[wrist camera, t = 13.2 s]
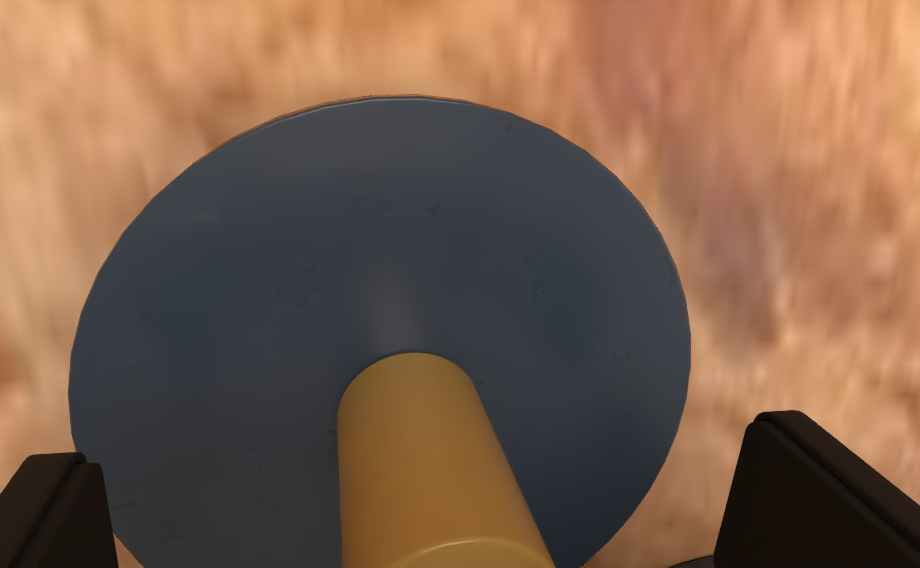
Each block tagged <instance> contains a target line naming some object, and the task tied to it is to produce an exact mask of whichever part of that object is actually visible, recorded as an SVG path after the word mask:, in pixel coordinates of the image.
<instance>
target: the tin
mask: <svg viewBox="0 0 920 568" xmlns="http://www.w3.org/2000/svg"><path fill="white" fill-rule="evenodd" d="M673 568H714V562H713V556H710V557H705V558H702V559H698V560H694V561H691V562H687V563H684V564H680V565H678V566H675V567H673Z"/></svg>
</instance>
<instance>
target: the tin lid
mask: <svg viewBox="0 0 920 568" xmlns="http://www.w3.org/2000/svg"><path fill="white" fill-rule="evenodd" d="M690 368H691V333H690V325H689V318H688V311H687V304H686V299H685V295H684V292H683V288H682V285H681V281H680V278H679V275H678V271H677V268H676V265H675V263H674V261H673V259H672V256H671V254H670V252H669V250H668V248H667V246H666V243H665V241H664V239H663V237H662V235H661V233H660V232H659V230H658V229H657V227H656V226H655V224H654V222H653V221H652V219H651V218H650V216H649V215H648V213H647V212H646V210H645V209H644V207H643V206H642V204H641V203H640V202H639V201H638V200H637V199H636V198H635V196H634V195H633V194H632V193H631V192H630V191H629V190H628V189H627V187H626V186H625V185H624V184H623V183H622V182H621V181H620V180H619V179H618V177H617V176H616V175H614V174H613V173H612V172H611V171H610V170H608V169H607V168H606V167H605V166H603V165H602V164H601V163H600V162H599V161H597V160H596V159H595V158H594V157H593V156H591V155H590V154H589V153H588V152H586V151H585V150H583V149H582V148H580V147H579V146H577V145H575V144H574V143H572V142H570V141H569V140H567V139H565V138H564V137H562V136H560V135H559V134H557V133H555V132H554V131H552V130H550V129H548V128H546V127H543V126H541V125H538V124H536V123H534V122H531V121H529V120H526V119H524V118H522V117H519V116H517V115H515V114H512V113H510V112H507V111H504V110H500V109H496V108H493V107H489V106H485V105H481V104H477V103H473V102H470V101H466V100H462V99H453V98H444V97H436V96H427V95H419V94H408V95H369V96H363V97H357V98H350V99H344V100H338V101H331V102H325V103H321V104H318V105H314V106H311V107H308V108H305V109H301V110H298V111H295V112H291V113H288V114H285V115H281V116H278V117H276V118H274V119H271V120H269V121H267V122H265V123H263V124H261V125H258V126H256V127H254V128H252V129H250V130H247V131H245V132H243V133H241V134H239V135H237V136H234V137H233V138H231V139H230V140H228V141H227V142H225V143H223V144H222V145H220V146H219V147H217V148H216V149H214V150H212V151H211V152H209V153H208V154H206V155H205V156H203V157H202V158H200V159H198V160H197V161H195V162H194V163H193V164H192V165H190V166H189V167H188V168H187V169H186V170H185V171H183V172H182V173H181V174H180V175H179V176H178V177H176V178H175V179H174V180H173V181H172V182H171V183H169V184H168V185H167V186H166V187H165V188H164V189H163V190H161V191H160V192H159V193H158V194H157V195H156V196H155V197H154V198H153V199H152V200H151V201H150V202H149V203H148V204H147V206H146V207H145V208H144V209H143V210H142V211H141V212H140V214H139V215H138V216H137V217H136V218H135V219H134V221H133V222H132V223H131V224H130V225H129V226H128V228H127V229H126V230H125V231H124V232H123V233H122V235H121V237H120V238H119V240H118V241H117V243H116V245H115V246H114V248H113V249H112V251H111V252H110V254H109V256H108V257H107V259H106V260H105V262H104V264H103V265H102V267H101V268H100V270H99V272H98V274H97V276H96V279H95V281H94V283H93V286H92V288H91V290H90V293H89V295H88V297H87V300H86V302H85V304H84V307H83V309H82V311H81V315H80V319H79V323H78V327H77V331H76V335H75V339H74V343H73V347H72V351H71V360H70V373H69V386H68V400H69V411H70V423H71V433H72V437H73V441H74V445H75V449H76V452H81V453H83V454H84V455H85V457H86V459H87V463H99V464H100V465H101V467H102V471H103V476H104V482H105V488H106V494H107V500H108V506H109V512H110V518H111V524H112V530H113V532H114V534H115V535H116V537H117V538H118V539H119V540H120V541H121V542H122V543H123V545H124V546H125V547H126V548H127V549H128V550H129V551H130V553H131V554H132V555H133V556H134V557H135V558H136V559H137V561H138V562H139V563H140V564H141V565H142V566H144V567H145V568H580V567H581V566H582V565H583V564H585V563H586V562H587V561H588V560H589V559H590V558H591V557H592V556H593V555H595V554H596V553H597V552H598V551H599V550H600V549H601V548H602V547H603V546H604V545H605V544H606V543H607V542H609V541H610V539H611V538H612V537H613V536H614V535H615V534H616V533H617V531H618V530H619V529H620V528H621V527H622V526H623V525H624V523H625V522H626V521H627V520H628V519H629V518H630V517H631V515H632V514H633V512H634V511H635V510H636V508H637V507H638V505H639V504H640V503H641V501H642V500H643V498H644V497H645V495H646V494H647V493H648V491H649V490H650V488H651V486H652V484H653V483H654V481H655V479H656V477H657V475H658V473H659V472H660V470H661V468H662V466H663V464H664V463H665V461H666V458H667V456H668V453H669V451H670V448H671V446H672V443H673V441H674V439H675V436H676V434H677V431H678V428H679V424H680V420H681V417H682V413H683V409H684V406H685V402H686V397H687V390H688V382H689V375H690Z"/></svg>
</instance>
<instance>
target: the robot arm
mask: <svg viewBox="0 0 920 568" xmlns="http://www.w3.org/2000/svg"><path fill="white" fill-rule="evenodd" d="M713 562H714V568H920V505H918V504H917V503H916V502H915V501H913V500H912V499H911V498H910V497H908V496H907V495H906V494H905V493H903V492H902V491H901V490H900V489H898V488H897V487H896V486H895V485H893V484H892V483H891V482H890V481H888V480H887V479H886V478H885V477H883V476H882V475H881V474H880V473H878V472H877V471H876V470H874V469H873V468H872V467H871V466H869V465H868V464H867V463H866V462H864V461H863V460H862V459H861V458H859V457H858V456H857V455H856V454H854V453H853V452H852V451H851V450H849V449H848V448H847V447H846V446H844V445H843V444H842V443H841V442H839V441H838V440H837V439H836V438H834V437H833V436H832V435H831V434H829V433H828V432H827V431H826V430H824V429H823V428H822V427H821V426H819V425H818V424H817V423H816V422H814V421H813V420H812V419H811V418H809V417H808V416H807V415H805V414H804V413H802V412H800V411H795V410H789V411H772V412H763V413H760V414H758V415H757V417H756V418H755V419H754V422H752V423H750V424H749V425H748V426H747V428H746V431H745V435H744V438H743V442H742V446H741V450H740V454H739V458H738V462H737V465H736V469H735V473H734V477H733V481H732V485H731V489H730V493H729V496H728V500H727V504H726V508H725V512H724V516H723V520H722V524H721V527H720V531H719V535H718V539H717V543H716V547H715V551H714V556H713ZM0 568H119V566H118V560H117V554H116V548H115V542H114V536H113V530H112V524H111V518H110V512H109V506H108V500H107V494H106V488H105V482H104V476H103V471H102V467H101V465H100V464H99V463H87V459H86V457H85V455H84V454H83V453H81V452H71V453H54V454H36V455H31V456H28V457H27V458H26V460H25V461H24V462H23V463H22V464H21V466H20V467H19V469H18V470H17V472H16V473H15V474H14V476H13V477H12V479H11V480H10V481H9V483H8V484H7V486H6V487H5V488H4V490H3V491H2V493H1V494H0Z"/></svg>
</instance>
